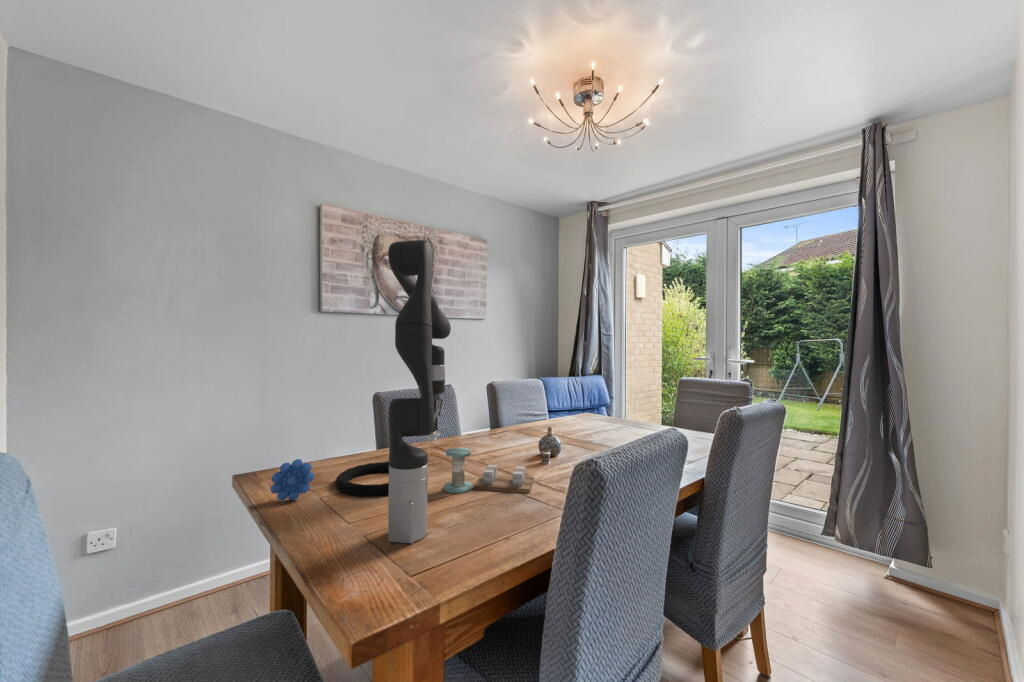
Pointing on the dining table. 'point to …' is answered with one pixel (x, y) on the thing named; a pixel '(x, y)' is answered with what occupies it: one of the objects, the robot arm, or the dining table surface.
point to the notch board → (504, 481)
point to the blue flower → (292, 480)
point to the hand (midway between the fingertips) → (432, 430)
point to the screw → (433, 436)
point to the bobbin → (458, 471)
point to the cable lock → (359, 488)
